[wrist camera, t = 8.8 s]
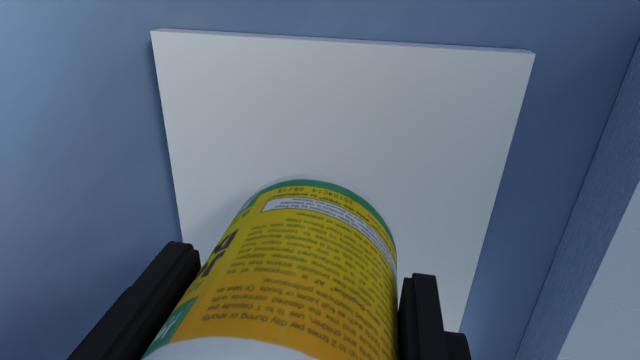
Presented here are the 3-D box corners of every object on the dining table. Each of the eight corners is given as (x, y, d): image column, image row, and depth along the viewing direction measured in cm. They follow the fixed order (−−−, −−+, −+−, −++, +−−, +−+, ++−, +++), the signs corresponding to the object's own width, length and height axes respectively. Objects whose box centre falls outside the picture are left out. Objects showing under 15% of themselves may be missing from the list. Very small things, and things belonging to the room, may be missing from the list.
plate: (162, 28, 14) (150, 31, 13) (527, 49, 12) (536, 53, 11) (199, 290, 19) (192, 302, 18) (453, 327, 18) (455, 341, 17)
